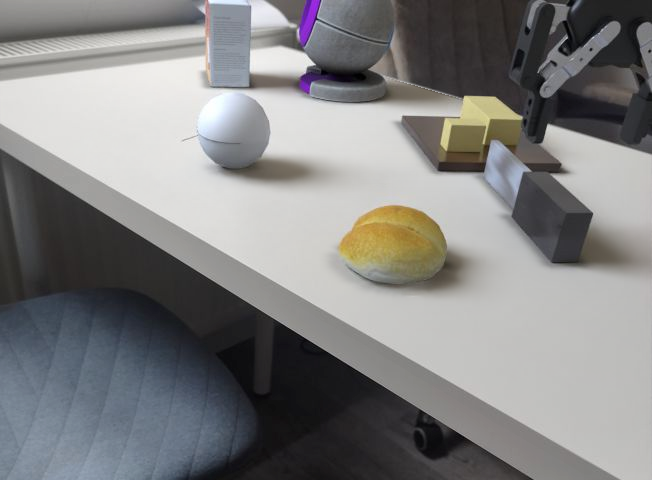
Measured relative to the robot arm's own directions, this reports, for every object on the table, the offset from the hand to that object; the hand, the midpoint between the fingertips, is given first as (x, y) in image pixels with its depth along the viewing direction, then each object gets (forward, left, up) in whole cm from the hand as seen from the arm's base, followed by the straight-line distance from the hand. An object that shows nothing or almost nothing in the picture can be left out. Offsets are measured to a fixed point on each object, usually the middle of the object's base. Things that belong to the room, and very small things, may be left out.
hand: (581, 141), depth 58 cm
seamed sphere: (+29, -16, -9) cm, 34 cm away
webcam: (+11, -47, -9) cm, 49 cm away
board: (-1, -24, -9) cm, 25 cm away
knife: (+1, -4, -9) cm, 10 cm away
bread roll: (+16, +4, -9) cm, 19 cm away
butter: (-3, -26, -8) cm, 27 cm away
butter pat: (+2, -20, -8) cm, 21 cm away
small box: (+27, -50, -9) cm, 57 cm away
